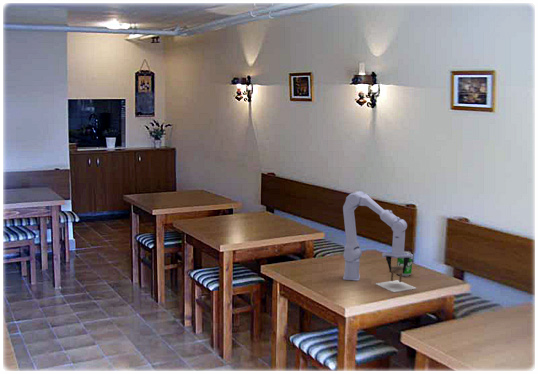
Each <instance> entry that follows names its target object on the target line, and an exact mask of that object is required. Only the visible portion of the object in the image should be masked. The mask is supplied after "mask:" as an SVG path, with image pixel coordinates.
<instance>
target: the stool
mask: <svg viewBox="0 0 538 374" xmlns="http://www.w3.org/2000/svg"><path fill="white" fill-rule="evenodd" d="M390 273H391V274H390V281H394V274H397V275H398V274H400V276H399V275H398V276H399V279H398V280H399V282H402V277H403V276H402V274H403V266H397V265H393V264H391V272H390Z"/></svg>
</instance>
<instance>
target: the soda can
mask: <svg viewBox="0 0 538 374" xmlns="http://www.w3.org/2000/svg"><path fill="white" fill-rule="evenodd" d="M404 253H406V254H412V252H411V251H409V250H408V251H407V250H404ZM396 259H397V260H396V262H397V263H396V266H403V264H404V258H396ZM412 268H413V259H409V262H408V264H407V266H406V268H405V271H404V273H403V274H402V277H410V276H411V275H412ZM397 275H398V276H399V275H400V274H397ZM409 275H410V276H409Z"/></svg>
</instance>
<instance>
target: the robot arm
mask: <svg viewBox="0 0 538 374" xmlns="http://www.w3.org/2000/svg"><path fill="white" fill-rule="evenodd" d="M359 206H361V207H367V208H369V209H370V210H372V211H373V212H374V213H376V214H377V215H379V218H380V220H381V221H382V222H384V223H385V224H386V225H387V226H389V227H390V228H391V231H392V244H391V246H392V247H391V251H390V252H389V251H386V252H385V251H382V255H381V256H382V258H385V259H386V262H387V266H388V270H389V272H388V273H391V265H392V258H396V259H397V258H404V264H403V273H404V271H405V268H406V266H407V264H408V262H409V259H412V260H413V259H414V254H412V253H411V254H406V253H404V251H405V242H406V241H405V240H406V230H407V228H408V223H407V221H406V220H405V219H402V218H400V217H399V216H396V215H395V214H394V213H393V210H391V209H384V208H383V207H381V206H380V205H379V204H378V203H377V202H376V201H375V200H374V199H372V198H371V197H370V196H369V194H367V193H366V192H365V191H362V190H358V191H355V192H352V193H350V194H348V196H346V197H345V202H344V203H343V206H342V212H343V220H344V221H343V222H344V232H345V240H346V241H345V242H346V243H345V245H344V248H343V249H344V251H343V253H342V255H343V259H344V274H343V277H342V280H345V281H346V280H347V281H356V282H358V281H360V278H361V274H360V262H361V260H360V258H361V257H362V255H363V251H362V249H361V246H360V243H359V242H358V238H357V236H358V235H357V229H356V218H355V210H356V209H357V208H358V207H359Z"/></svg>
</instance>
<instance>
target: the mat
mask: <svg viewBox="0 0 538 374" xmlns="http://www.w3.org/2000/svg"><path fill="white" fill-rule="evenodd" d="M375 286H378V287H380V288H383V289H384V290H388V291H389V292H391V293H400V292H407V291H412V289H413V290H417V287H415V286H412V285H411V284H408V283H406V282H404V281H401V282H399V279H396V280H393V281H391V280H389V281H383V282H375Z"/></svg>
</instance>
